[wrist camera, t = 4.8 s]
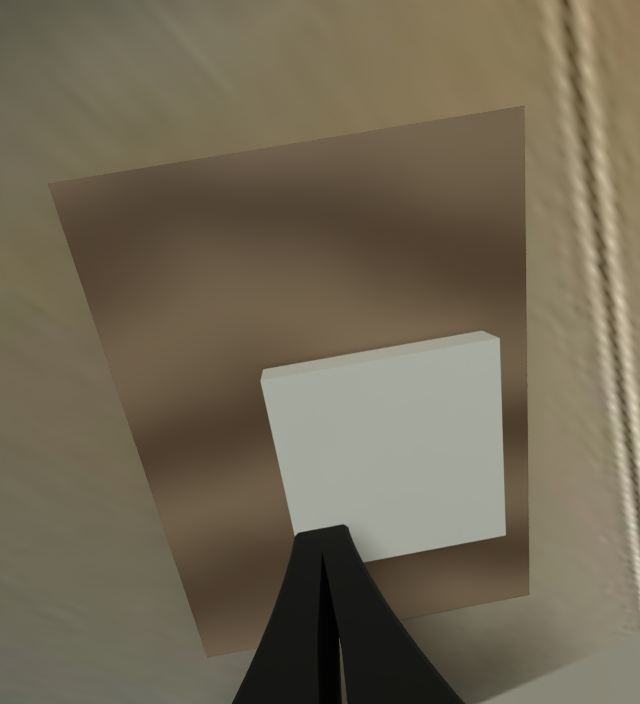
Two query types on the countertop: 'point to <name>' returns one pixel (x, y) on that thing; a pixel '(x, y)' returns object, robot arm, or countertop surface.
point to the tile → (394, 443)
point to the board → (302, 332)
